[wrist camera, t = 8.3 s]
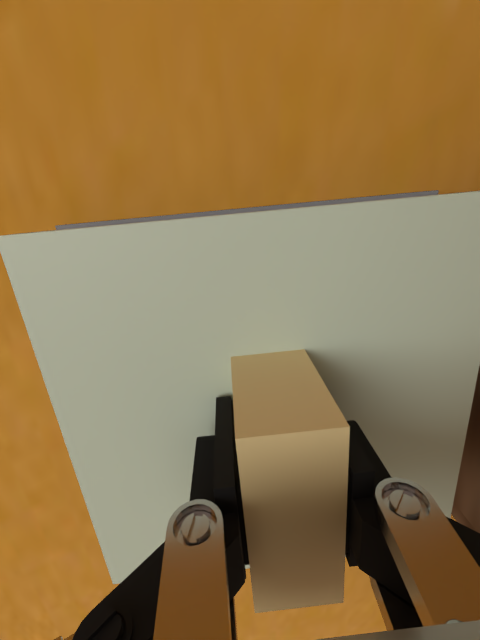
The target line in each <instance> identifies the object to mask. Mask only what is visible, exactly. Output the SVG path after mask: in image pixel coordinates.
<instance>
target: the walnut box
mask: <svg viewBox="0 0 480 640" xmlns="http://www.w3.org/2000/svg"><path fill="white" fill-rule="evenodd" d="M451 514H452V515H453V517H454V518H455V519H456V521H457V522H458V523H460V524H462V525H464V526H466V527H468V528H470V529H472V530H474V531H476V532H478V533H480V365H479V370H478V375H477V381H476V386H475V391H474V397H473V402H472V407H471V412H470V418H469V423H468V428H467V433H466V439H465V444H464V449H463V454H462V460H461V465H460V470H459V475H458V481H457V486H456V491H455V496H454V502H453V507H452V512H451Z"/></svg>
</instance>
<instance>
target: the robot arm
mask: <svg viewBox="0 0 480 640" xmlns="http://www.w3.org/2000/svg"><path fill="white" fill-rule="evenodd" d="M347 423H348V424H349V426H350V436H349V463H348V490H347V517H346V544H345V555H346V558H347V561H348V564H349V566H350V567H351V566H358V567H359V569H360V570H362V571H363V572H365V573H366V574H368V575H369V578H370V582H371V586H372V589H373V591H374V594H375V597H376V600H377V603H378V606H379V609H380V611H381V614H382V617H383V620H384V623H385V626H386V629H387V631H383V632H375V633H367V634H358V635H350V636H342V637H334V638H326V639H318V640H480V533H478V532H476V531H474V530H472V529H470V528H468V527H466V526H464V525H462V524H460V523H458V522H456V521H454V520H452V519H450V518H448V517H446V516H445V515H444V513H443V512H442V510H441V509H440V507H439V506H438V504H437V503H436V501H435V500H434V498H433V497H432V496H431V495H430V494H429V492H428V491H427V490H425V489H424V488H423V487H421V486H420V485H419V484H417V483H414V482H412V481H410V480H407V479H403V478H394V477H391V476H390V474H389V472H388V471H387V469H386V468H385V466H384V465H383V463H382V461H381V460H380V458H379V457H378V455H377V453H376V452H375V450H374V449H373V447H372V445H371V444H370V442H369V441H368V439H367V438H366V436H365V434H364V433H363V431H362V430H361V428H360V426H359V425H358V423H357V422H356V421H354V420H349V421H347ZM245 565H249V556H248V547H247V539H246V530H245V521H244V512H243V503H242V495H241V486H240V477H239V468H238V459H237V451H236V442H235V427H234V409H233V400H231V396H225V397H216V414H215V435H210V436H201V437H197V439H196V447H195V456H194V465H193V474H192V483H191V492H190V500H189V502H186V503H185V504H183V505H181V506H180V507H179V508H178V509H177V510H176V511H175V512H174V513H173V514H172V516H171V518H170V519H169V522H168V525H167V530H166V538H165V542H164V543H162V544H161V545H160V546H159V547H158V548H157V549H156V550H155V551H154V552H153V553H152V554H151V555H150V556H149V557H148V558H147V559H146V560H144V561H143V562H142V563H141V564H140V565H139V566H138V567H137V568H136V569H135V570H134V571H133V572H132V573H131V574H130V575H129V576H128V577H127V578H125V579H124V580H123V581H122V582H121V583H120V584H119V585H118V586H117V587H116V588H115V589H114V590H113V591H112V592H111V593H110V594H109V595H108V596H106V597H105V598H104V599H103V600H102V601H101V602H100V603H99V604H98V605H97V606H96V607H95V608H94V609H93V610H92V611H91V612H90V613H89V614H88V615H87V616H86V617H85V619H84V620H83V621H82V622H81V624H80V626H79V627H78V629H77V631H76V632H75V633H74V634H72V635H71V636H69V637H67V638H66V639H64V640H238V638H237V625H236V612H235V599H234V596H235V595H236V593H237V592H238V591H239V589H240V588H241V587H242V585H243V584H244V583H245V579H246V571H245ZM54 640H63V638H62V636H59V637H58V638H56V639H54Z"/></svg>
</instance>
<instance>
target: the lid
mask: <svg viewBox="0 0 480 640" xmlns="http://www.w3.org/2000/svg"><path fill="white" fill-rule="evenodd" d="M0 252H1V255H2V258H3V261H4V264H5V267H6V270H7V273H8V276H9V279H10V281H11V284H12V287H13V290H14V293H15V296H16V299H17V302H18V305H19V308H20V311H21V314H22V317H23V320H24V323H25V326H26V329H27V332H28V335H29V337H30V340H31V343H32V346H33V349H34V352H35V355H36V358H37V361H38V364H39V367H40V370H41V373H42V376H43V379H44V382H45V385H46V388H47V390H48V393H49V396H50V399H51V402H52V405H53V408H54V411H55V414H56V417H57V420H58V423H59V426H60V429H61V432H62V435H63V438H64V441H65V444H66V446H67V449H68V452H69V455H70V458H71V461H72V464H73V467H74V470H75V473H76V476H77V479H78V482H79V485H80V488H81V491H82V494H83V497H84V499H85V502H86V505H87V508H88V511H89V514H90V517H91V520H92V523H93V526H94V529H95V532H96V535H97V538H98V541H99V544H100V547H101V550H102V553H103V555H104V558H105V561H106V564H107V567H108V570H109V573H110V576H111V579H112V582H113V584H118V583H121V582H122V581H123V580H124V579H125V578H127V577H128V576H129V575H130V574H131V573H132V572H133V571H134V570H135V569H136V568H137V567H138V566H139V565H140V564H141V563H142V562H143V561H144V560H146V559H147V558H148V557H149V556H150V555H151V554H152V553H153V552H154V551H155V550H156V549H157V548H158V547H159V546H160V545H161V544H162V543H164V542H165V538H166V530H167V525H168V522H169V519H170V518H171V516H172V514H173V513H174V512H175V511H176V510H177V509H178V508H179V507H180V506H181V505H183V504H185V503H186V502H189V500H190V492H191V483H192V474H193V465H194V456H195V447H196V439H197V437H201V436H210V435H215V414H216V397H225V396H231V400H233V409H234V427H235V442H236V451H237V459H238V468H239V477H240V486H241V495H242V503H243V512H244V521H245V530H246V539H247V547H248V556H249V565H245V569H246V568H250V574H251V583H252V591H253V600H254V609H255V613H260V612H268V611H276V610H285V609H293V608H301V607H310V606H318V605H326V604H335V603H343V598H344V571H345V557H346V555H345V544H346V517H347V490H348V463H349V436H350V426H349V424H348V423H347V421H349V420H354V421H356V422H357V423H358V425H359V426H360V428H361V430H362V431H363V433H364V434H365V436H366V438H367V439H368V441H369V442H370V444H371V445H372V447H373V449H374V450H375V452H376V453H377V455H378V457H379V458H380V460H381V461H382V463H383V465H384V466H385V468H386V469H387V471H388V472H389V474H390V476H391V477H394V478H403V479H407V480H410V481H412V482H414V483H417V484H419V485H420V486H421V487H423V488H424V489H425V490H427V491H428V492H429V494H430V495H431V496H432V497H433V498H434V500H435V501H436V503H437V504H438V506H439V507H440V509H441V510H442V512H443V513H444V515H445V516H446V517H448V518H451V512H452V507H453V502H454V496H455V491H456V486H457V481H458V475H459V470H460V465H461V460H462V454H463V449H464V444H465V439H466V433H467V428H468V423H469V418H470V412H471V407H472V402H473V397H474V391H475V386H476V381H477V375H478V370H479V365H480V191H471V192H461V193H450V194H439V195H428V196H418V197H407V198H396V199H385V200H375V201H364V202H353V203H342V204H332V205H321V206H310V207H299V208H289V209H278V210H267V211H256V212H246V213H235V214H224V215H213V216H203V217H192V218H181V219H171V220H160V221H149V222H138V223H128V224H117V225H106V226H95V227H85V228H74V229H63V230H52V231H42V232H31V233H20V234H11V235H3V236H0Z"/></svg>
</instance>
